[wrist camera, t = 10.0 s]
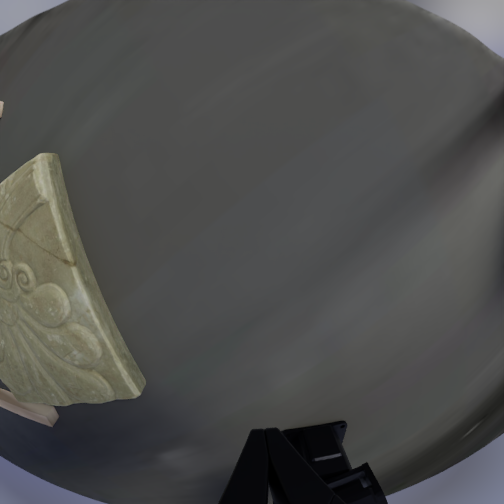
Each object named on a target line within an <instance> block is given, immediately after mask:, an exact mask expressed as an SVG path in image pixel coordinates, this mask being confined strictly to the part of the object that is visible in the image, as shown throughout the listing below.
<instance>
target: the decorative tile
mask: <svg viewBox="0 0 504 504" xmlns="http://www.w3.org/2000/svg"><path fill="white" fill-rule="evenodd" d="M0 379H1V380H2V382H3V383H4V384H5V385H6V386H7V387H8V388H9V389H10V391H11V392H12V394H13V395H14V397H15V398H16V400H17V401H18V402H23V403H46V404H47V405H55V406H67V405H71V404H73V403H90V404H95V403H105V402H109V401H113V400H115V399H132V398H136V397H138V396H140V395H141V392H142V390H143V388H144V387H145V385H146V380H145V378H144V377H143V375H142V373H141V371H140V370H139V368H138V366H137V364H136V363H135V361H134V359H133V357H132V355H131V354H130V352H129V350H128V348H127V346H126V344H125V342H124V340H123V338H122V336H121V334H120V333H119V331H118V329H117V326H116V324H115V322H114V320H113V318H112V316H111V314H110V312H109V310H108V308H107V305H106V303H105V301H104V299H103V296H102V294H101V292H100V289H99V287H98V284H97V282H96V280H95V277H94V275H93V272H92V270H91V267H90V264H89V262H88V259H87V256H86V254H85V251H84V248H83V245H82V242H81V239H80V236H79V233H78V230H77V227H76V223H75V220H74V217H73V213H72V210H71V206H70V203H69V199H68V195H67V191H66V187H65V183H64V179H63V175H62V171H61V166H60V161H59V157H58V155H57V154H54V153H41V154H39V155H37V156H36V157H35V158H33V159H32V160H30V161H28V162H27V163H25V164H24V165H23V166H21V167H20V168H19V169H17V170H16V171H15V172H14V173H12V174H11V175H10V176H9V177H8V178H6V179H5V180H4V181H3V182H2V183H0Z"/></svg>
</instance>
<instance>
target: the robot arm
mask: <svg viewBox="0 0 504 504" xmlns="http://www.w3.org/2000/svg"><path fill="white" fill-rule="evenodd" d="M346 428H347V423H346V421H339V422H334V423H329V424H324V425H318V426H312V427H305V428H298V429H290V430H285V431H283V432H282V433H281V431H280V430H279V429H278V428H276V427H275V428H266V429H265V430H264V429H252V430H251V431H250V434H249V436H248V439H247V441H246V443H245V446H244V448H243V450H242V453H241V455H240V457H239V460H238V462H237V464H236V466H235V469H234V471H233V473H232V475H231V478H230V480H229V482H228V484H227V486H226V488H225V491H224V493H223V495H222V497H221V499H220V501H219V503H218V504H268V482H269V487H270V491H271V495H272V498H273V504H388V503H387V500H386V498H385V495H384V493H383V491H382V489H381V487H380V485H379V483H378V481H377V480H376V478H375V476H374V474H373V472H372V470H371V468H370V467H369V465H368V463H364V464H362V466H359V467H357V468H355V469H352V467H351V465H350V462H349V460H348V458H347V455H346V453H345V450H344V448H343V446H342V442H343V438H344V435H345V432H346ZM364 487H365V488H364Z"/></svg>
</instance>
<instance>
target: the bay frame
mask: <svg viewBox="0 0 504 504" xmlns="http://www.w3.org/2000/svg"><path fill="white" fill-rule="evenodd" d="M3 104H4V102H2V101H0V118H1V117H2V110H3ZM0 406H1V407H3V408H5V409H7V410H9V411H12V412H14V413H16V414H19V415H21V416H23V417H26V418H28V419H31V420H34V421H36V422H39V423H42V424H45V425H48V426H51V427H53V425H54V424H55V422H56V421H57V419H58V418H59V415H58V413H57V412H56V410H55V408H54V406H50V405H47V404H43V403H23V402H18V401H17V400H16V398H15V397H14V395H13V394H12V393H11V392H9V391H6V390H4V389H1V388H0Z"/></svg>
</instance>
